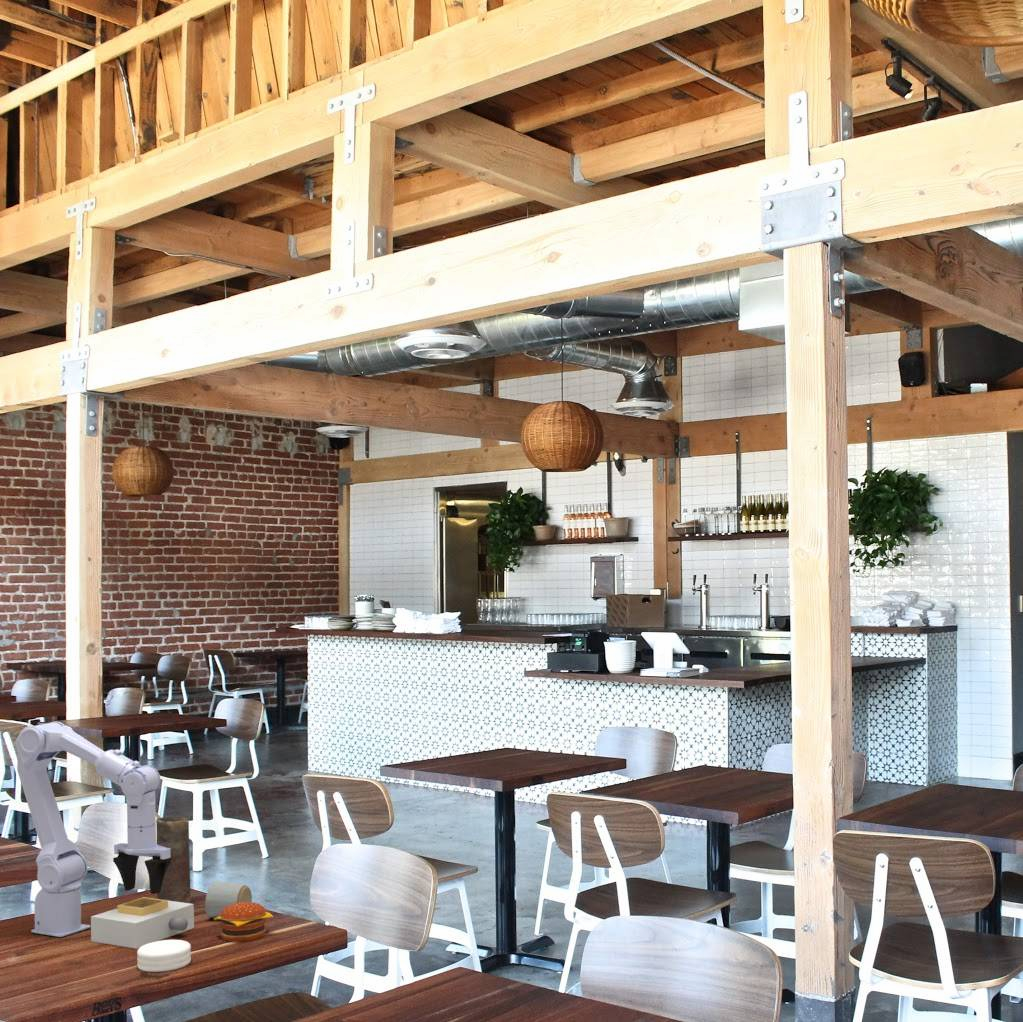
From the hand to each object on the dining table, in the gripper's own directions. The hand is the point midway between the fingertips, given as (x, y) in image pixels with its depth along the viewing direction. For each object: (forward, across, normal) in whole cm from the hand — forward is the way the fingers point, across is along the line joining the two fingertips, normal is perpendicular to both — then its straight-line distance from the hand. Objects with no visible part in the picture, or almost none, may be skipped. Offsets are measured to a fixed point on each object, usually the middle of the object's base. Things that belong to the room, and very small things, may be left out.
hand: (142, 891), depth 256 cm
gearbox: (+9, +2, 0) cm, 9 cm away
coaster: (+9, +20, -13) cm, 25 cm away
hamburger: (+9, +20, +8) cm, 24 cm away
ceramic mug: (+9, +7, +19) cm, 22 cm away
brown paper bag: (+9, -10, +19) cm, 24 cm away
